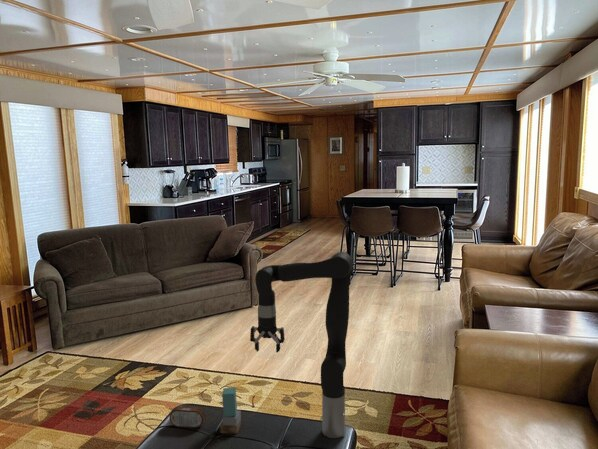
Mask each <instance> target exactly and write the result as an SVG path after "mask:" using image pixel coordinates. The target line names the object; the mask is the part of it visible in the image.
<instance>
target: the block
mask: <svg viewBox="0 0 598 449" xmlns="http://www.w3.org/2000/svg"><path fill="white" fill-rule="evenodd" d="M236 392H237V389H236V387H225V388H223V390H222V393H221V397H222V409H223V410H222V412H223V416H224V417H231V416H236V412H237V410H238V407H237V406H238V404H237V393H236Z"/></svg>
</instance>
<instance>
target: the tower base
mask: <svg viewBox="0 0 598 449" xmlns="http://www.w3.org/2000/svg"><path fill="white" fill-rule="evenodd" d="M241 422H242V418H241V419H240V421H239V423H238V425H237V426H228V425H223V420H222V421H221V423H220V426H219V428H220V432H219V433H221V434H236V435H237V434H238V432H239V430H240V428H241V425H242V423H241Z"/></svg>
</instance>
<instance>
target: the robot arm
mask: <svg viewBox="0 0 598 449" xmlns="http://www.w3.org/2000/svg"><path fill="white" fill-rule="evenodd" d="M353 266H354V263H353V259H352V257H351V255H349V254H348V253H347V252H344V251H338V252H337V253H335V254H333V255H332V256H331V257H330V258H327V259H324V260H320V261H316V262H292V263H287V264H282V265H281V264H277V265H276V264H272V265H266V266H264V267H262V268H260V269H259V270H258V271H256V274H255V278H254V279H255V287H256V291H257V304H258V305H257V327H255V325H253V326H251V328H250V334H249V336H250V338H249V341H250V342H251V343H252V342H253V343H254V349H255V352H259V350H260V342H259V341H260V340H261V338H262V339H272V341H274V342H275V343H276V345H275V352H276V353H279V352H280V350H281V344H283V343H284V342H285V329H284V327H279V328H278V327H277V308H276V307H277V306H276V293H275V291H274V289H273V286H272V283H273V282H279V281H281V282H283V283H287V282H294V281H300V280H308V279H325V278H327V279H331V284H330V285H331V286H330V291H329V293H328V299H327V303H326V308H325V329H326V335H327V348H326V353H325V357H324V359H323V361H322V363H321V365H320V387H321V390H322V391H321V396H322V398H321V399H322V401H321V402H322V403H321V404H322V405H321V406H322V408H321V409H322V411H321V412H322V418H321V419H322V422H321V424H322V427H321V428H322V432H321V433H322V434H323V435H324V437H326V436H327V437H326V438H329V439H339V438H342V437H343V438H344V437H345V435H346V434H345V433H346V431H345V430H346V407H345V406H346V404H345V403H346V402H345V400H346V398H345V396H346V388H345V385H344V372H345V370H346V367H347V354H346V353H347V352H346V341H347V334H348V327H349V321H350V320H349V319H350V316H349V315H350V284H351V276H352V272H353V271H352V270H353ZM256 332H258V336H256V338H255V333H256ZM277 333H278V334H280V338H279V336H278V334H277Z"/></svg>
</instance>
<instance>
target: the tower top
mask: <svg viewBox="0 0 598 449" xmlns="http://www.w3.org/2000/svg"><path fill="white" fill-rule="evenodd" d="M240 419H241V420H242V410H239V409H237V412H236V416H231V417H224V415H223V416H222V421H223V425H228V426H237V425H238V423H239V421H240Z"/></svg>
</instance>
